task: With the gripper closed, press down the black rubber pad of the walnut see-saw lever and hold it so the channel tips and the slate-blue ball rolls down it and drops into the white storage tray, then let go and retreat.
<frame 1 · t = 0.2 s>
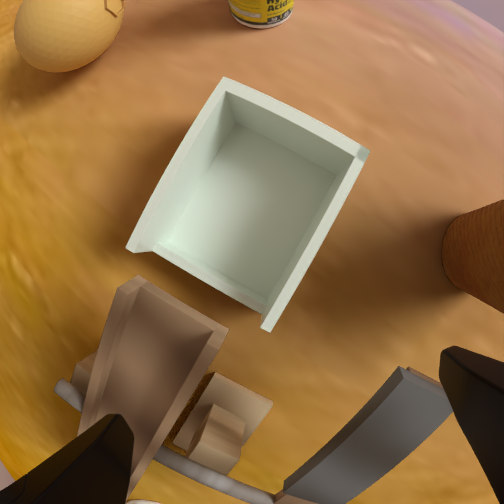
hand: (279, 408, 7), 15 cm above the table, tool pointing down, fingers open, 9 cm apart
white storage tray: (252, 207, 23), on the table
fulcrum stand: (220, 422, 23), on the table
lever: (199, 439, 17), point 6 cm above the table, hinge at -12.0°, touching ball
supplement bottle: (262, 10, 22), on the table
stress ball: (95, 46, 23), on the table
disposable coffee cup: (470, 251, 22), on the table
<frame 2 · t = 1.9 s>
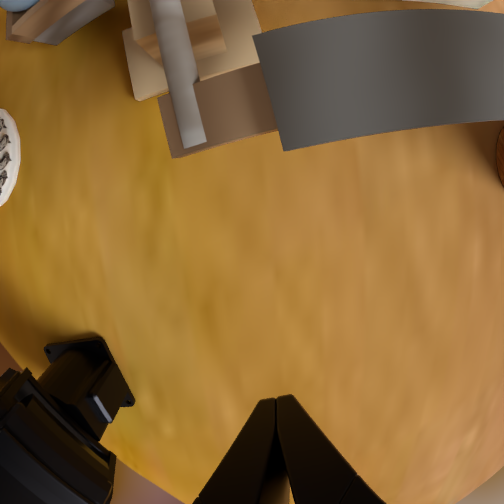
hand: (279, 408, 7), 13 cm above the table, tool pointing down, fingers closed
fulcrum stand: (193, 45, 16), on the table
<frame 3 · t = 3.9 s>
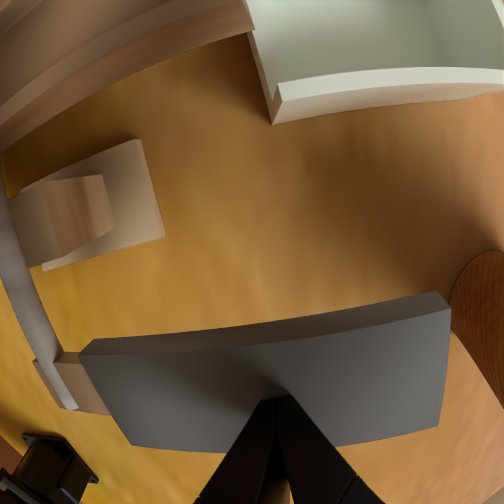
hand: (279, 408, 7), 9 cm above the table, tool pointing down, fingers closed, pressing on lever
white storage tray: (354, 26, 13), on the table
fulcrum stand: (88, 208, 16), on the table
lever: (41, 179, 9), point 6 cm above the table, hinge at -8.9°, touching ball, gripper
disposable coffee cup: (482, 295, 17), on the table
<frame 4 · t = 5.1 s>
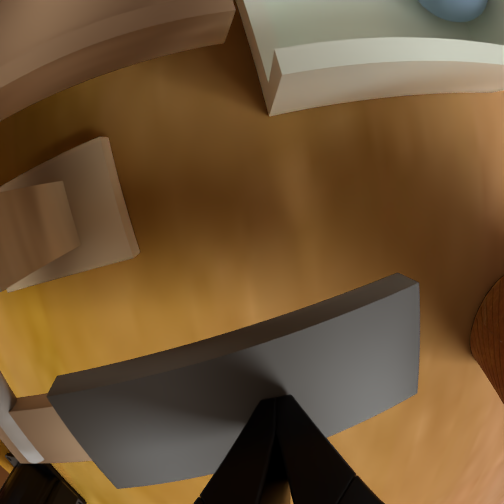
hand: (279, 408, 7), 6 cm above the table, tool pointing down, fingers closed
white storage tray: (368, 1, 10), on the table
fulcrum stand: (51, 221, 13), on the table
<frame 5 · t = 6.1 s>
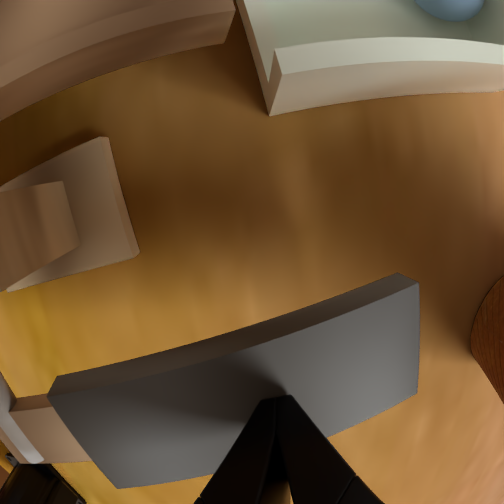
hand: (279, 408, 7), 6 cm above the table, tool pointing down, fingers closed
white storage tray: (368, 1, 10), on the table
fulcrum stand: (51, 221, 13), on the table
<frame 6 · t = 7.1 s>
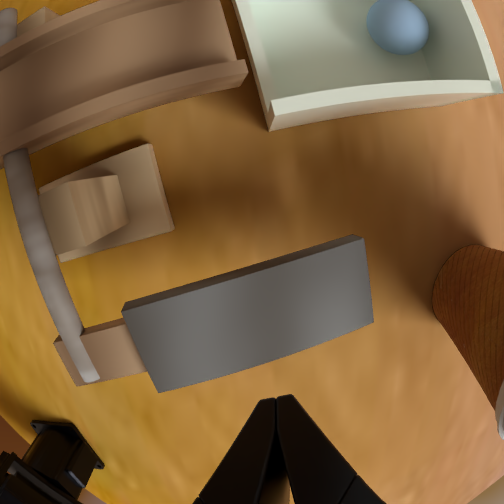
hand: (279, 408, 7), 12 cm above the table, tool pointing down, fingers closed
white storage tray: (343, 41, 15), on the table
fulcrum stand: (103, 205, 18), on the table
lever: (67, 181, 12), point 5 cm above the table, hinge at 12.6°
ball: (397, 25, 12), point 2 cm above the table, tilted 156°, touching white storage tray
disposable coffee cup: (465, 286, 19), on the table
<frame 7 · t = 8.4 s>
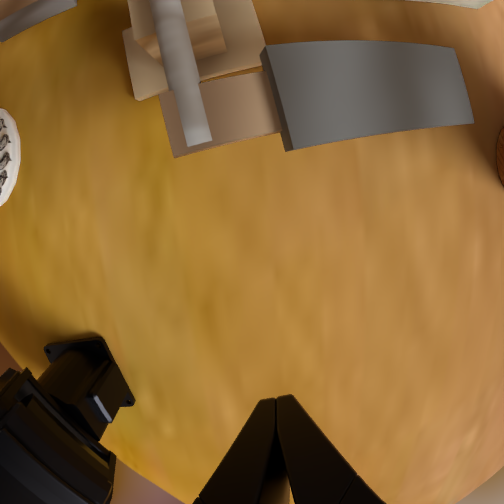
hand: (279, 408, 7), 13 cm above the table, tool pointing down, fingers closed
fulcrum stand: (193, 45, 16), on the table
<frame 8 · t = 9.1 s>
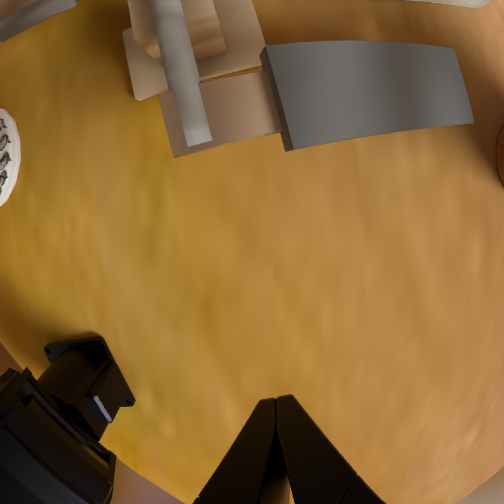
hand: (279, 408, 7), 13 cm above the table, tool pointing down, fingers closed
fulcrum stand: (193, 45, 16), on the table
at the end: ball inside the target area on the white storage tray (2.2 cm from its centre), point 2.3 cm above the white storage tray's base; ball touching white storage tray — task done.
